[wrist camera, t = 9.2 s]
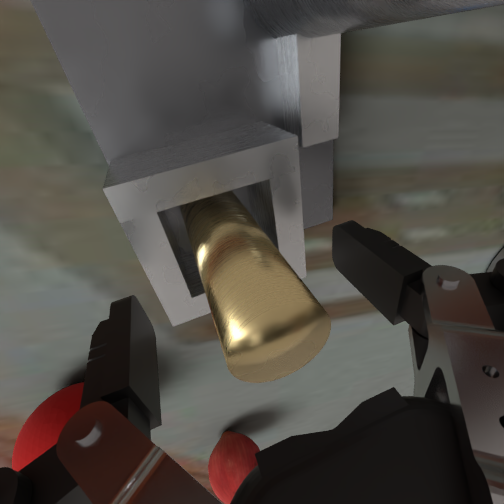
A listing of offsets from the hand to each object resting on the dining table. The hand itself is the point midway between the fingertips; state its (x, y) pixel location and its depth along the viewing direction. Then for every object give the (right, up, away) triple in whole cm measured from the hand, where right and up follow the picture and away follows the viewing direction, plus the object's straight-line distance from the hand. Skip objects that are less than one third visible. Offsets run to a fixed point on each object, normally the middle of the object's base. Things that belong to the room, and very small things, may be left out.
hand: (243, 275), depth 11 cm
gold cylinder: (-2, +3, +5) cm, 6 cm away
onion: (-3, -20, +22) cm, 30 cm away
